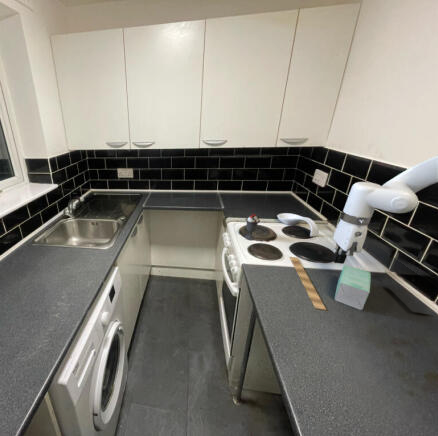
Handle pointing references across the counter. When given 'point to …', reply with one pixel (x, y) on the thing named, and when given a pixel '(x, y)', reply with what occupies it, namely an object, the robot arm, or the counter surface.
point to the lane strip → (307, 284)
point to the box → (353, 287)
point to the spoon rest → (294, 219)
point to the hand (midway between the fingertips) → (337, 262)
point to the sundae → (251, 225)
